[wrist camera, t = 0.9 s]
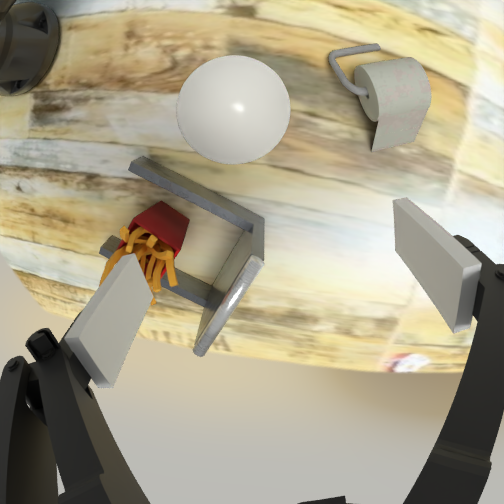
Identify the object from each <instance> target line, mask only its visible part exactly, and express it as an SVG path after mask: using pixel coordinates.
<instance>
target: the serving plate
mask: <svg viewBox="0 0 504 504" xmlns="http://www.w3.org/2000/svg"><path fill="white" fill-rule="evenodd" d="M289 119H290V100H289V95H288V92H287V90H286V87H285V85H284V83H283V82H282V80H281V79H280V77H279V76H278V75H277V74H276V73H275V72H274V71H273V70H272V69H271V68H270V67H268V66H267V65H265V64H264V63H262V62H260V61H258V60H256V59H253V58H250V57H246V56H238V55H230V56H223V57H219V58H215V59H213V60H210V61H208V62H206V63H204V64H202V65H201V66H200V67H198V68H197V69H196V70H195V71H194V72H193V73H192V74H191V75H190V76H189V77H188V78H187V80H186V81H185V83H184V84H183V86H182V88H181V91H180V93H179V97H178V101H177V120H178V124H179V128H180V130H181V133H182V135H183V136H184V138H185V140H186V141H187V142H188V144H189V145H190V146H191V147H192V148H193V149H194V150H195V151H196V152H198V153H199V154H200V155H202V156H204V157H205V158H207V159H210V160H212V161H215V162H218V163H223V164H243V163H248V162H251V161H254V160H256V159H258V158H261V157H262V156H264V155H266V154H267V153H269V152H270V151H271V150H272V149H273V148H274V147H275V146H276V145H277V144H278V143H279V141H280V140H281V139H282V137H283V135H284V133H285V131H286V129H287V126H288V123H289Z"/></svg>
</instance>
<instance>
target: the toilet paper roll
mask: <svg viewBox="0 0 504 504" xmlns="http://www.w3.org/2000/svg"><path fill="white" fill-rule="evenodd" d="M380 49H381V48H380V46H379V45H378V44H369V45H363V46H356V47H350V48H344V49H339V50H334V51H332V52H331V53H330V54H329V57H328V58H329V63H330V65H331V67H332V68H333V70H334V71H335V73H336V75H337V76H338V78H339V79H340V81H341V83H342V84H343V86H344V87H346V88H347V89H348V90H349V91H351V92H352V93H354V94H356V95H358V97H359V99H360V102H361V105H362V107H363V109H364V111H365V113H366V114H367V116H368V117H369V118H370V119H371V120H372V121H374V122H375V121H378V126H377V130H376V135H375V139H374V143H373V147H372V152H374V151H378V150H382V149H386V148H390V147H394V146H398V145H402V144H406V143H410V142H414V141H415V138H416V136H417V134H418V131H419V129H420V127H421V125H422V122H423V120H424V118H425V115H426V113H427V110H428V108H429V107H430V103H431V88H430V84H429V80H428V77H427V75H426V73H425V71H424V69H423V67H422V66H421V65H420V63H419V62H418V61H417V60H415V59H414V58H411V57H408V58H400V59H393V60H387V61H381V62H375V63H369V64H364V65H358V66H356V68H355V71H354V79H355V85H356V86H355V85H354V84H352V83H351V82H349V81H348V79H347V78H346V76H345V74H344V73H343V71H342V70H341V68H340V67H339V65H338V63H337V62H336V60H335V58H336V57H341V56H346V55H352V54H358V53H364V52H371V51H378V50H380ZM383 134H384V135H383Z"/></svg>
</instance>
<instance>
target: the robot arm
mask: <svg viewBox="0 0 504 504" xmlns="http://www.w3.org/2000/svg"><path fill="white" fill-rule="evenodd" d="M15 2H16V0H0V95H1V96H12V95H19V94H22V93H25V92H27V91H28V90H30V89H31V88H33V87H34V86H35V85H36V84H37V83H38V82H39V81H40V80H41V78H42V77H43V76H44V74H45V73H46V71H47V70H48V68H49V66H50V64H51V62H52V60H53V58H54V55H55V52H56V48H57V44H58V37H59V26H58V21H57V18H56V15H55V14H54V12H53V11H52V10H51V9H50V8H49V7H48V6H46V5H43V4H39V3H35V2H25V3H20V4H16V5H13V4H14V3H15ZM393 211H394V228H395V251H396V252H397V253H398V255H399V256H400V257H401V259H402V260H403V261H404V263H405V264H406V265H407V267H408V268H409V269H410V271H411V272H412V274H413V275H414V276H415V278H416V279H417V280H418V282H419V283H420V285H421V286H422V288H423V289H424V290H425V292H426V293H427V295H428V296H429V298H430V299H431V300H432V302H433V303H434V305H435V306H436V308H437V309H438V311H439V312H440V314H441V315H442V317H443V318H444V320H445V321H446V323H447V324H448V326H449V328H450V329H451V331H452V332H453V333H457V332H460V331H463V330H465V329H468V328H470V326H471V321H472V317H473V316H474V317H475V318H476V320H477V321H478V323H477V327H476V331H475V335H474V338H473V342H472V346H471V349H470V353H469V356H468V359H467V363H466V366H465V369H464V372H463V375H462V378H461V381H460V384H459V387H458V390H457V392H456V395H455V398H454V401H453V403H452V406H451V408H450V411H449V413H448V416H447V418H446V420H445V423H444V425H443V428H442V430H441V432H440V435H439V437H438V439H437V441H436V443H435V445H434V447H433V450H432V451H431V453H430V455H429V458H428V459H427V462H426V464H425V465H424V467H423V469H422V471H421V473H420V475H419V477H418V478H417V480H416V482H415V484H414V486H413V488H412V489H411V491H410V493H409V494H408V496H407V498H406V499H405V501H404V503H403V504H477V503H478V501H479V499H480V496H481V494H482V492H483V489H484V487H485V484H486V482H487V479H488V476H489V473H490V470H491V465H492V463H491V462H490V456H491V453H492V450H493V446H494V443H495V440H496V437H497V434H498V430H499V427H500V423H501V419H502V415H503V411H504V264H497V265H496V264H495V263H494V262H493V261H492V260H490V259H489V258H488V257H487V256H486V255H485V254H484V253H483V252H482V251H480V249H478V248H477V247H476V246H475V245H474V244H473V243H472V242H471V241H469V240H468V239H466V238H464V237H462V236H460V235H455V236H452V235H451V234H450V233H448V232H447V231H446V230H445V229H444V228H443V227H442V226H440V225H439V224H438V223H437V222H436V221H435V220H433V219H432V218H431V217H430V216H429V215H427V214H426V213H425V212H424V211H423V210H421V209H420V208H419V207H418V206H417V205H415V204H414V203H413V202H412V201H410V200H409V199H408V198H401V199H396V200H393ZM152 299H153V295H152V292H151V290H150V288H149V286H148V283H147V281H146V279H145V276H144V274H143V272H142V269H141V267H140V265H139V262H138V260H137V257H136V255H135V253H133V254H129V255H124V256H122V257H121V259H120V260H119V261H118V263H117V264H116V265H115V267H114V268H113V269H112V271H111V272H110V273H109V275H108V276H107V277H106V279H105V280H104V281H103V283H102V284H101V285H100V287H99V288H98V290H97V291H96V292H95V294H94V295H93V297H92V298H91V299H90V301H89V302H88V304H87V305H86V307H85V308H84V309H83V310H82V311H81V312H80V313H79V314H78V316H77V317H76V318H75V320H74V322H73V323H72V324H71V326H70V328H69V329H68V330H67V332H66V333H65V335H64V336H63V338H62V339H61V341H60V342H59V343H58V341H57V340H56V338H55V337H54V335H53V334H52V332H51V330H50V329H49V328H43V329H40V330H38V331H36V332H35V333H34V334H32V335H31V336H30V337H29V338H28V340H27V342H26V345H25V346H26V347H27V349H28V350H29V352H30V353H31V354H32V356H33V357H34V359H35V360H36V362H33V363H30V364H28V363H27V361H26V360H25V359H24V357H23V356H17V357H14V358H12V359H10V360H9V361H8V362H7V364H6V365H5V367H4V369H3V372H2V376H1V379H0V504H150V502H149V501H148V499H147V497H146V496H145V494H144V493H143V491H142V489H141V487H140V486H139V484H138V483H137V481H136V479H135V477H134V476H133V474H132V472H131V470H130V468H129V467H128V465H127V463H126V461H125V459H124V457H123V455H122V453H121V451H120V450H119V448H118V446H117V444H116V442H115V440H114V438H113V436H112V434H111V431H110V430H109V427H108V425H107V423H106V421H105V419H104V416H103V414H102V412H101V410H100V407H99V405H98V403H97V400H96V398H95V396H94V393H93V391H92V389H91V388H90V387H89V386H88V384H89V382H90V379H92V380H93V381H94V383H95V384H96V385H97V387H98V388H113V386H114V383H115V381H116V379H117V377H118V374H119V372H120V370H121V367H122V365H123V363H124V360H125V358H126V355H127V353H128V351H129V349H130V347H131V344H132V342H133V340H134V338H135V336H136V333H137V331H138V329H139V327H140V325H141V322H142V320H143V318H144V316H145V314H146V312H147V310H148V307H149V305H150V303H151V301H152ZM27 404H28V405H29V406H30V408H29V407H28V405H27ZM56 463H57V465H56ZM56 466H58V470H59V473H60V476H61V479H62V482H63V485H64V488H65V492H64V493H62V494H60V495H59V497H58V486H57V468H56ZM298 504H351V503H346V499H345V496H340V497H335V498H328V499H322V500H315V501H307V502H301V503H298Z"/></svg>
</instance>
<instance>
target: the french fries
mask: <svg viewBox="0 0 504 504" xmlns="http://www.w3.org/2000/svg"><path fill="white" fill-rule="evenodd" d="M189 221H190V220H189V219H188V218H187V217H185V216H184V215H182V214H181V213H179V212H178V211H176V210H175V209H173V208H172V207H170V206H169V205H167V204H166V203H164V202H163V201H162V200H161V201H159V202H158V203H156V204H155V205H153V206H151V207H150V208H148V209H147V210H145V211H144V212H142V213H141V214H139V215H137V216H136V217H134V218H133V220H132V222H131V224H130V225H129V227H128V229H127V228H126V227H125V226H123V227H122V228H121V229H120V237H121V238H122V240H121V242H120V244H119V246H118V248H117V249H116V251H115V253H114V254H113V255H112V256H111V257H110V259H109V260H108V262H107V263H106V266H105V269H104V272H103V274H102V277H101V281H100V285H101V284H102V283H103V281H104V280H105V279H106V277H107V276H108V275H109V273H110V272H111V271H112V269H113V267H114V265H115V264H116V263H118V261H119V260H120V259H121V257H122V256H124V255H129V254H133V253H135V255H136V257H137V260H138V262H139V265H140V267H141V269H142V272H143V274H144V276H145V279H146V281H147V283H148V286H149V288H150V290H151V292H152V289H151V287H152V286H153V291H154V292H159V291H161V282H160V279H161V278H162V276H163V275H164V274H165V272H166V271H167V275H168V280H169V284H170V286H171V287H173V286H176V285H178V281H177V277H176V272H175V267H174V259H175V257H176V256H177V254H178V253H179V251H180V250H181V247H182V244H183V241H184V237H185V234H186V230H187V227H188V224H189ZM100 285H99V287H100ZM152 295H153V293H152ZM150 304H151V306H152V305H154V304H156V301H155V298H154V296H153V299H152V301H151V303H150Z"/></svg>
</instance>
